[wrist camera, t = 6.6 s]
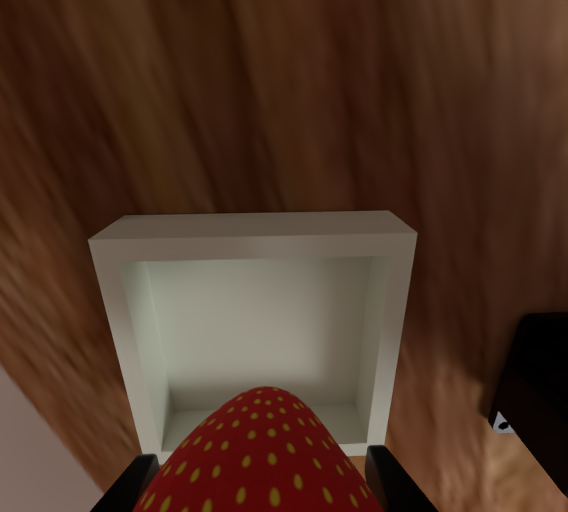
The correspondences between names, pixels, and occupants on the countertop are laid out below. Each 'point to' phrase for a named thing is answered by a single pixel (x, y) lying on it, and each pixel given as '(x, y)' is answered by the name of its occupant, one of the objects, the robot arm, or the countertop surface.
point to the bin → (256, 315)
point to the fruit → (259, 463)
